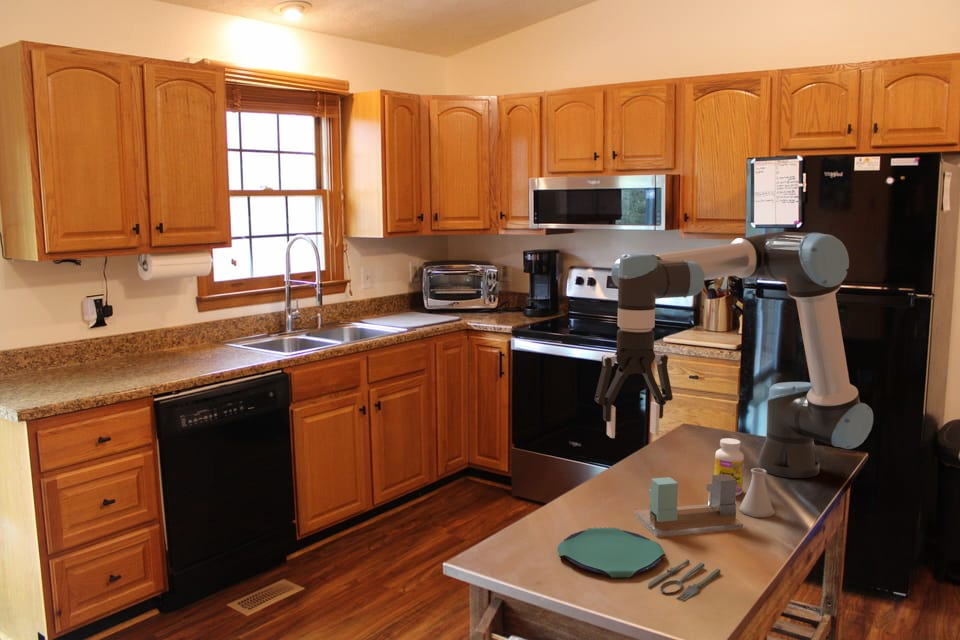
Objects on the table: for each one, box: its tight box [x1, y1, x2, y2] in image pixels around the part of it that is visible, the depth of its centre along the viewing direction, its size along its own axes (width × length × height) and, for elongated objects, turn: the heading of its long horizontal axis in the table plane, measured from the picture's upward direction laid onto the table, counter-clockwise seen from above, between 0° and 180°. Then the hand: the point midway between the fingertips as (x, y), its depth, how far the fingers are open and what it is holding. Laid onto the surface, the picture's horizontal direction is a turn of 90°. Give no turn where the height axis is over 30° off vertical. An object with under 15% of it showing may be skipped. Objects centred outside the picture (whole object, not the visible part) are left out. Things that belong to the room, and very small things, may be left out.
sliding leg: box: [647, 476, 679, 522], centre depth 175 cm, size 4×9×9 cm, turn 12°
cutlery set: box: [557, 527, 721, 602], centre depth 158 cm, size 20×30×2 cm, turn 46°
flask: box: [739, 467, 775, 518], centre depth 183 cm, size 7×7×10 cm
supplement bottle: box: [713, 437, 745, 496], centre depth 195 cm, size 7×7×13 cm
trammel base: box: [633, 474, 744, 538], centre depth 177 cm, size 20×12×11 cm, turn 102°
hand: (632, 434), depth 170 cm, fingers open, 9 cm apart
